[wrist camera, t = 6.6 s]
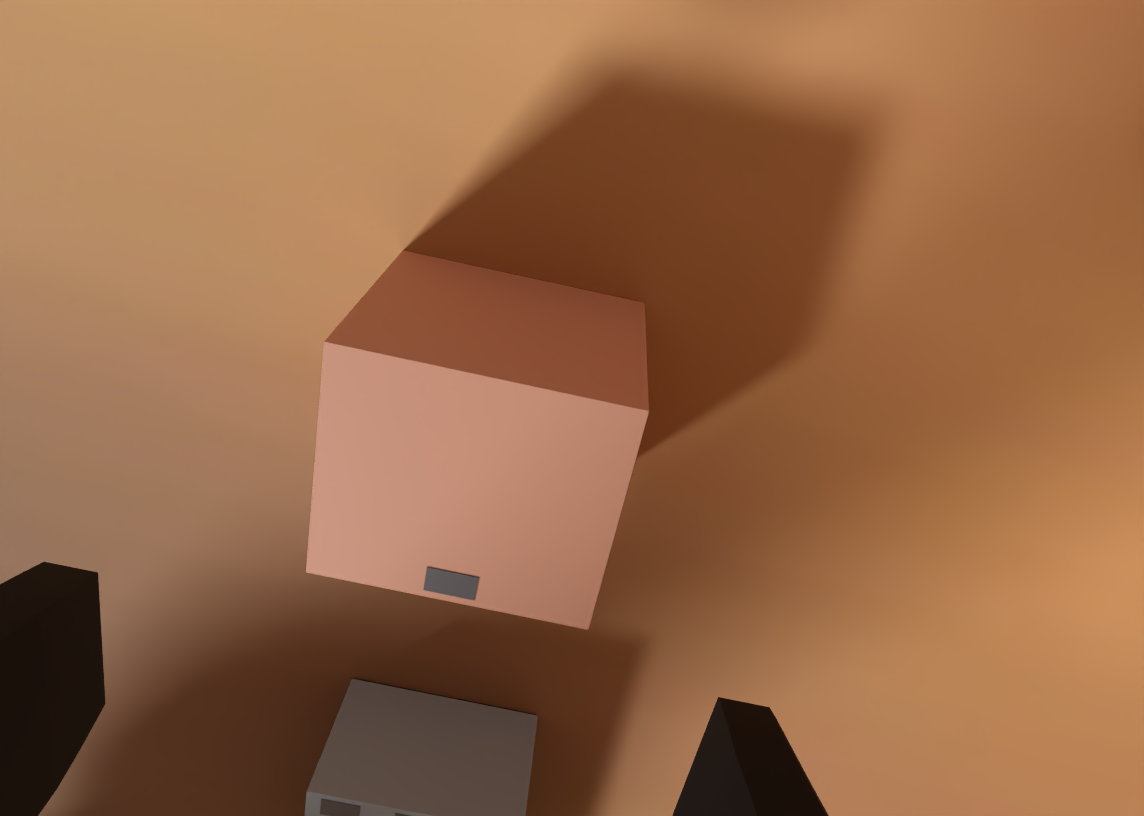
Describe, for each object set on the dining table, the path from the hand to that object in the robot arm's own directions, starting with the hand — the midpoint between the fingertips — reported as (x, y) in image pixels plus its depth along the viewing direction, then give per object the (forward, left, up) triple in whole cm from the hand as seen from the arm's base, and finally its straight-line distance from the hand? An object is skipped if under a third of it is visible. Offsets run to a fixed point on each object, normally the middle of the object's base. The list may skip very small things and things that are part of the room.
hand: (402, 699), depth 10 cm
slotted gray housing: (-14, 0, -9) cm, 16 cm away
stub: (0, 0, -9) cm, 9 cm away
